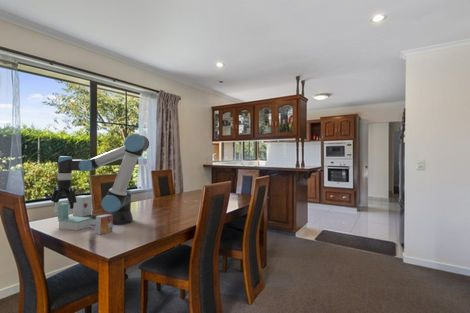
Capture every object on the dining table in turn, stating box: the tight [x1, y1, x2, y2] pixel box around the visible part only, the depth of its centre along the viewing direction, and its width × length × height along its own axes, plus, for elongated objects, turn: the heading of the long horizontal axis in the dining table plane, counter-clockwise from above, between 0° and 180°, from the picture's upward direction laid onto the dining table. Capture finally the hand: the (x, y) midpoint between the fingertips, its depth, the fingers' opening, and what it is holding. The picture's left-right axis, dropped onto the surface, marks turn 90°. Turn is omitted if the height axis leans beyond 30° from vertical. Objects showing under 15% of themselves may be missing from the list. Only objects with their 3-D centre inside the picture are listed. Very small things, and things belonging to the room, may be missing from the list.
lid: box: [57, 202, 92, 223], centre depth 159 cm, size 19×11×11 cm, turn 77°
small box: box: [94, 213, 114, 235], centre depth 151 cm, size 8×6×10 cm
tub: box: [58, 219, 91, 232], centre depth 158 cm, size 14×10×5 cm
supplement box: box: [72, 195, 93, 217], centre depth 190 cm, size 9×9×15 cm
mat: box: [90, 218, 96, 226], centre depth 172 cm, size 16×12×1 cm
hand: (63, 212), depth 160 cm, fingers open, 10 cm apart
